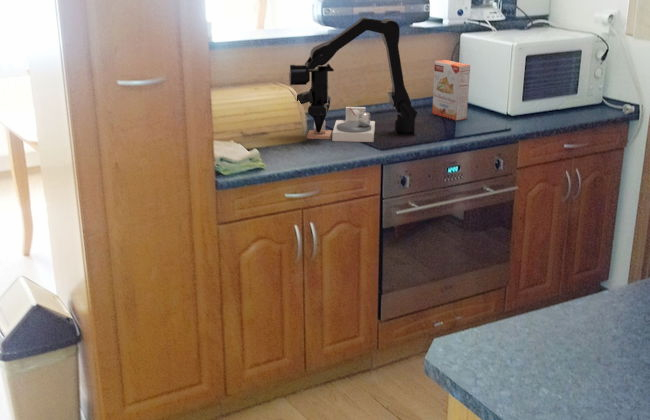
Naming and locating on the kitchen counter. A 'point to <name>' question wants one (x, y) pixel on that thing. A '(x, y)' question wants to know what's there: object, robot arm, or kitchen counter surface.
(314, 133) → the cylinder
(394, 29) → the robot arm
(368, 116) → the cylinder
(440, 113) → the cracker box
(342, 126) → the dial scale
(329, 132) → the rubber mat
